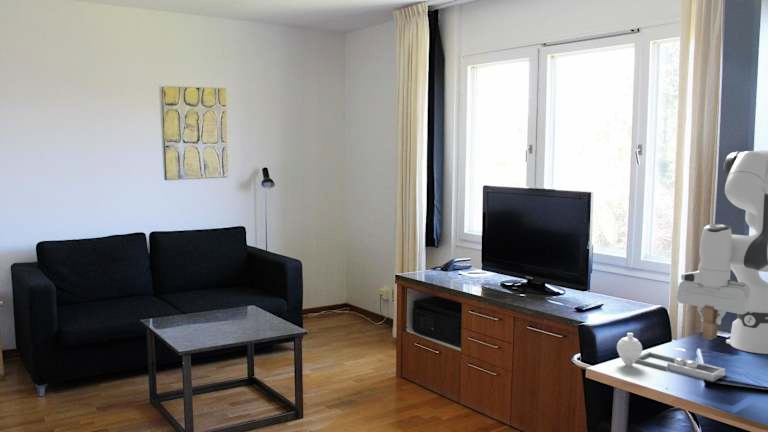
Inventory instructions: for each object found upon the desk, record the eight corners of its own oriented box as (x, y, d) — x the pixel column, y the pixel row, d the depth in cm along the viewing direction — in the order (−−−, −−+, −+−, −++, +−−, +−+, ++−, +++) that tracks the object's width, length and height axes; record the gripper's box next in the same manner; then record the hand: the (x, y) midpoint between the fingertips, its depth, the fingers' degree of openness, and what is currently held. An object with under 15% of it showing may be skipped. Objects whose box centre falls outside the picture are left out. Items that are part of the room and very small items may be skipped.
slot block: (679, 368, 219) (680, 357, 219) (724, 379, 209) (725, 368, 208) (666, 374, 213) (667, 363, 213) (712, 386, 203) (713, 375, 202)
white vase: (619, 364, 222) (621, 328, 221) (643, 369, 218) (645, 332, 217) (612, 370, 216) (614, 333, 214) (637, 375, 212) (639, 337, 210)
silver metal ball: (687, 368, 214) (688, 359, 214) (698, 371, 212) (699, 362, 212) (683, 370, 212) (683, 361, 212) (694, 373, 209) (695, 364, 209)
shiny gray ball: (676, 365, 217) (677, 356, 217) (687, 368, 214) (688, 359, 214) (672, 368, 215) (672, 358, 214) (682, 370, 212) (683, 361, 212)
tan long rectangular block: (708, 335, 209) (710, 303, 208) (716, 337, 208) (719, 305, 207) (702, 338, 206) (704, 305, 205) (710, 339, 205) (712, 307, 204)
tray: (648, 359, 228) (648, 352, 228) (681, 367, 220) (681, 360, 219) (632, 366, 221) (632, 358, 220) (665, 375, 212) (665, 366, 212)
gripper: (754, 282, 200) (751, 328, 201) (685, 272, 215) (682, 314, 216) (746, 284, 195) (742, 331, 197) (676, 274, 210) (673, 317, 212)
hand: (710, 322), depth 207 cm, fingers closed on tan long rectangular block, 2 cm apart
